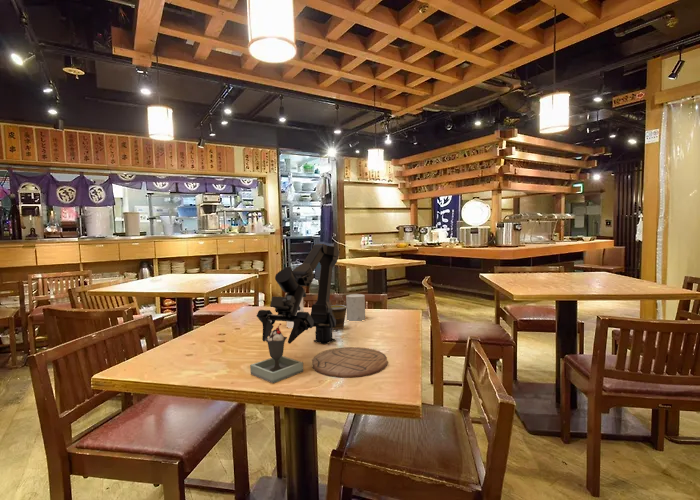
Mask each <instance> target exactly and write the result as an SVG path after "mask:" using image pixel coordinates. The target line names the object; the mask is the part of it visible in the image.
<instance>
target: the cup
mask: <svg viewBox="0 0 700 500" xmlns="http://www.w3.org/2000/svg"><path fill="white" fill-rule="evenodd" d="M299 306H300V308H301V309H300V311H299V310H298V311H297V312H305V311H304V297H302V300H301V303H300V305H299ZM296 314H297V313H296ZM285 322H286V328H287V327H288V329H290V328H293V326H294V322H288V321H285Z"/></svg>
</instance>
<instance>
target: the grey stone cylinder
mask: <svg viewBox="0 0 700 500" xmlns="http://www.w3.org/2000/svg"><path fill="white" fill-rule="evenodd" d="M345 298H346V299H345V300H346V301H345V302H346V305H345V306H346V321H347V320H349V321H362V320H365V319H366V300H365V299H366V295H365V294H361V293H352V294H350V293H349V294H347V295H345ZM349 321H348V322H349ZM365 321H366V320H365ZM362 322H363V321H362Z"/></svg>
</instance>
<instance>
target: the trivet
mask: <svg viewBox="0 0 700 500" xmlns="http://www.w3.org/2000/svg"><path fill="white" fill-rule="evenodd" d="M387 365H388V357H387V356H386V354H385V353H384V352H381V351H380V350H377V349H373V348H369V347H360V346H354V347H353V346H347V347H337V348H331V349H327V350H324V351H321V352H319V353H317V354H316V355H314V356H313V357H312V359H311V366H312V367H311V368H312V369H313V370H314V371H315V372H317V373H318V374H320V375H323V376H326V377H332V378H339V379H347V378H348V379H349V378H350V379H353V378H362V377H368V376H372V375H375V374H377V373H380V372H382V371H383V370H384V369H385V368H386V367H387Z"/></svg>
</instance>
